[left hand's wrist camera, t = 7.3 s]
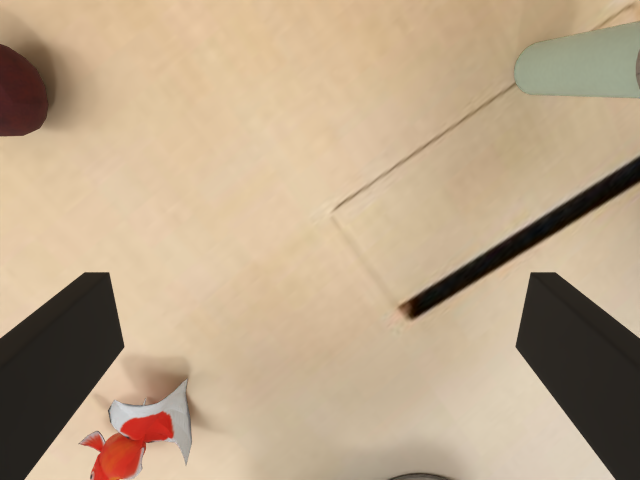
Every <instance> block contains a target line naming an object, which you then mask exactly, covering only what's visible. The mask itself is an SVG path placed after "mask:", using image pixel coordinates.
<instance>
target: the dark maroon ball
mask: <svg viewBox="0 0 640 480" xmlns="http://www.w3.org/2000/svg"><path fill="white" fill-rule="evenodd" d="M47 110H48V101H47V95H46V89H45V86H44V83H43V81H42V79H41V77H40V75H39V73H38V71H37V69H36V68H35V67H34V66H33V65H32V64H31V63H30V62H29V61H28V60H27V59H26V58H24V57H23V56H21V55H20V54H18V53H17V52H15V51H14V50H12V49H11V48H9V47H7V46H4V45H2V44H0V136H24V135H26V134H28V133H31V132H33V131H35V130H37V129H39V128H40V127H41V125H42V124H43V122H44V121H45V119H46V116H47Z"/></svg>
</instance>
